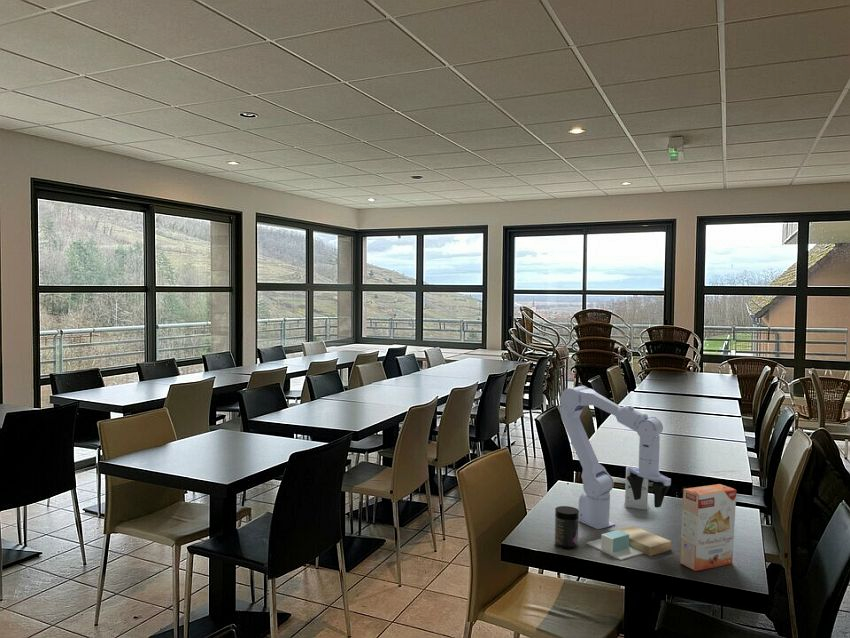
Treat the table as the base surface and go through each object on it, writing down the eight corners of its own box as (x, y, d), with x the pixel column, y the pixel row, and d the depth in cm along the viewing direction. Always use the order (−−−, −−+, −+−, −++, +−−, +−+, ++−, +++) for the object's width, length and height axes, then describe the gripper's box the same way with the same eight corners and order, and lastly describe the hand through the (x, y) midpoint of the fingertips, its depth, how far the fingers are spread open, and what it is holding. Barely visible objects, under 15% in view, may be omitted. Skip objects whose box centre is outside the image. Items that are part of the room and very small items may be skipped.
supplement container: (572, 552, 177) (573, 515, 177) (550, 546, 181) (551, 510, 181) (581, 544, 183) (582, 509, 182) (559, 538, 187) (560, 504, 186)
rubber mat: (586, 543, 184) (586, 542, 184) (607, 537, 188) (607, 536, 188) (620, 560, 172) (620, 558, 172) (643, 553, 177) (643, 552, 177)
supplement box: (624, 507, 215) (626, 471, 215) (624, 501, 222) (625, 465, 222) (647, 510, 213) (648, 473, 213) (646, 503, 220) (648, 468, 220)
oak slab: (611, 538, 188) (611, 530, 187) (632, 533, 192) (632, 525, 192) (650, 556, 176) (650, 547, 175) (671, 549, 180) (671, 541, 180)
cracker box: (696, 572, 165) (699, 494, 165) (678, 563, 171) (681, 488, 170) (734, 564, 171) (737, 488, 170) (716, 555, 177) (719, 482, 176)
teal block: (618, 543, 183) (601, 547, 180) (618, 529, 183) (601, 534, 179) (628, 548, 180) (611, 553, 176) (629, 534, 180) (612, 539, 176)
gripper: (678, 462, 184) (676, 508, 185) (638, 451, 197) (637, 494, 197) (662, 465, 181) (660, 512, 181) (622, 453, 193) (621, 497, 194)
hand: (647, 503), depth 189 cm, fingers open, 7 cm apart
